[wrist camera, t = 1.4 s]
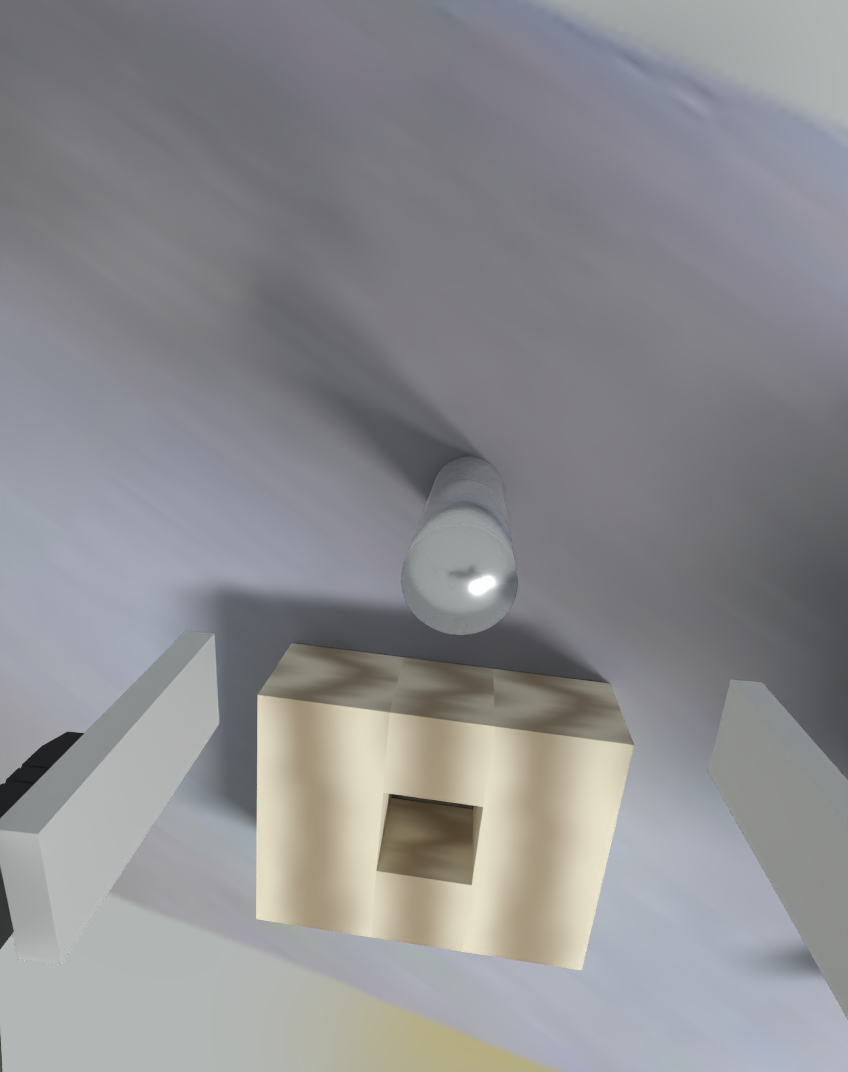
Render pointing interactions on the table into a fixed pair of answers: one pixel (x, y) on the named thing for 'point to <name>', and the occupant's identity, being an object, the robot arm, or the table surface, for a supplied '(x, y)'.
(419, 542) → the steel pin
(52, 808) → the robot arm
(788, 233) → the table surface
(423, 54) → the table surface
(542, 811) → the block
